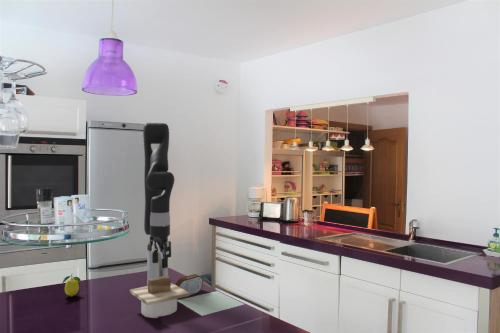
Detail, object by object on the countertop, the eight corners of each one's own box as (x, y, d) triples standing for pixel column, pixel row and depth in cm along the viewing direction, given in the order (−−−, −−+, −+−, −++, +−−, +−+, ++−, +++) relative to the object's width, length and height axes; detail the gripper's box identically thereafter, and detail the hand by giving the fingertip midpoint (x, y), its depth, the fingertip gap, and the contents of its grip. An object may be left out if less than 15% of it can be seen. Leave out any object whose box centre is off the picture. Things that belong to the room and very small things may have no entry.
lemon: (61, 299, 163) (62, 275, 163) (63, 295, 169) (63, 272, 169) (79, 298, 165) (79, 274, 165) (80, 293, 171) (80, 270, 171)
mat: (176, 301, 162) (176, 300, 162) (217, 292, 174) (217, 291, 174) (201, 317, 146) (201, 315, 146) (244, 305, 159) (244, 304, 159)
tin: (199, 290, 177) (199, 271, 177) (204, 292, 175) (204, 273, 175) (173, 299, 165) (173, 279, 165) (178, 301, 163) (178, 280, 163)
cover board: (129, 292, 154) (129, 276, 153) (169, 284, 164) (169, 269, 164) (147, 305, 140) (147, 288, 140) (189, 295, 151) (189, 279, 150)
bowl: (136, 309, 153) (136, 293, 153) (167, 302, 161) (167, 286, 161) (150, 320, 143) (150, 302, 143) (182, 312, 151) (182, 295, 151)
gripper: (143, 221, 155) (143, 262, 155) (159, 227, 143) (158, 271, 144) (161, 220, 159) (160, 259, 160) (177, 225, 148) (177, 268, 149)
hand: (159, 265), depth 152 cm, fingers open, 8 cm apart
